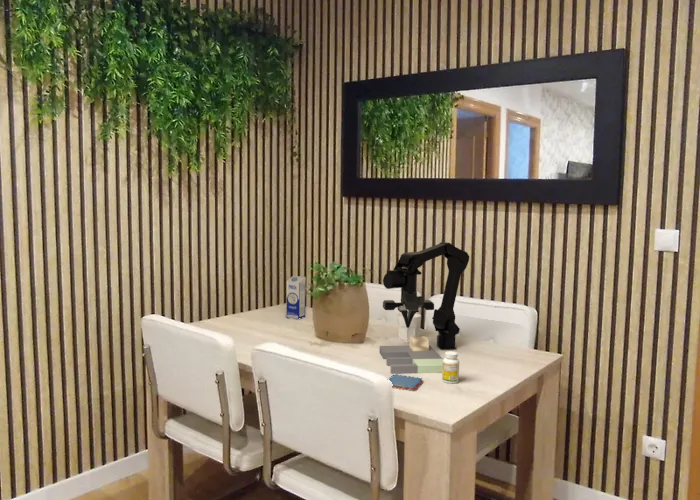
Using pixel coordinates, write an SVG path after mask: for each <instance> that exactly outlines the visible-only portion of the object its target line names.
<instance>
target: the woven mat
mask: <svg viewBox="0 0 700 500" xmlns="http://www.w3.org/2000/svg"><path fill="white" fill-rule="evenodd" d="M388 379H389V380H390V381H391V382H392V384H393V388H392V389H396V390H397V389H398V390H403V391H404V390H405V391H408V392H411V391H412V392H415V391H416V390H417V389H418V388H419V387H420V386H421V385H422V384H423V383H424V380H423V377H418V376H417V377H415V376H410V375H404V374H392V375H391V376H390V377H389V378H388Z"/></svg>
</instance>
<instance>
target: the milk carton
mask: <svg viewBox="0 0 700 500" xmlns="http://www.w3.org/2000/svg"><path fill="white" fill-rule="evenodd" d="M306 282H307V281H306V276H299V275H298V276H297V275H292V276H291V277H289V278H288V279H287V280H286V319H290V318H296V319H295V320H298V319H299V318H301V319H303V318H302V317H304V318H306V293H307V292H306V291H307V289H306V284H307V283H306ZM299 320H300V319H299Z"/></svg>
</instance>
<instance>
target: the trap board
mask: <svg viewBox="0 0 700 500" xmlns="http://www.w3.org/2000/svg"><path fill="white" fill-rule="evenodd" d="M379 354H380V356H381V357H382V359H383V360H385V363H386V366H387V367H388V366H390V373H391V374H392V375H396V374H398V375H401V374H434V373H438V374H440V373H442V374H443V359H444V358H443V356H441V355H440V354H439V352H438V351H436V350H435V348H433V347H432V345H430V344H429V351H412V349H411V348H410V344H409V345H379Z"/></svg>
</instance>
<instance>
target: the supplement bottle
mask: <svg viewBox="0 0 700 500" xmlns="http://www.w3.org/2000/svg"><path fill="white" fill-rule="evenodd" d="M458 355H459V354H458V352H457V351H450V350H448V351H445V353H444V358H443V373H442V375H441V377H442V381H443V383H445V384H450V385H453V384H457V383H459V380H460V379H459V378H460V360H459V358H458Z"/></svg>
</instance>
